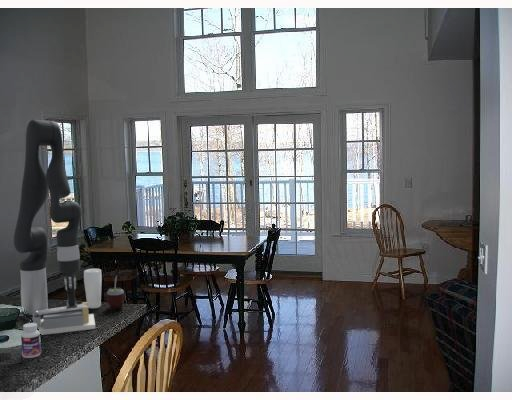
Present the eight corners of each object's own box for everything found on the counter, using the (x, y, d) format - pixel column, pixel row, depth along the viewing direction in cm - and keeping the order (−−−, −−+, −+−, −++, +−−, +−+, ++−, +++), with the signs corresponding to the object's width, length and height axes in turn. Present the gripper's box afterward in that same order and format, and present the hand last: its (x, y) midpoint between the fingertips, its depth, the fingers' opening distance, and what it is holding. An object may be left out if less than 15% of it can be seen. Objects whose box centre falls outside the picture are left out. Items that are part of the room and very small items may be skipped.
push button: (73, 308, 217) (72, 284, 216) (60, 308, 217) (59, 283, 216) (80, 303, 224) (79, 279, 223) (67, 303, 224) (66, 279, 223)
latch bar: (34, 316, 190) (33, 312, 190) (34, 313, 194) (34, 308, 194) (86, 309, 196) (86, 304, 196) (86, 306, 200) (86, 301, 200)
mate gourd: (114, 305, 221) (113, 269, 219) (130, 307, 217) (129, 271, 216) (102, 310, 214) (100, 273, 212) (118, 313, 211) (117, 275, 209)
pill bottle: (22, 359, 166) (20, 328, 165) (22, 353, 171) (20, 323, 170) (41, 356, 168) (39, 326, 167) (40, 350, 173) (39, 321, 172)
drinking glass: (87, 310, 214) (85, 273, 213) (83, 305, 220) (82, 269, 219) (104, 307, 218) (103, 271, 216) (100, 303, 224) (99, 267, 222)
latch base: (28, 336, 186) (27, 315, 185) (30, 324, 198) (29, 305, 198) (95, 328, 193) (94, 308, 193) (93, 317, 206) (92, 299, 205)
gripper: (80, 260, 189) (83, 309, 191) (79, 253, 201) (82, 299, 203) (57, 262, 187) (60, 312, 188) (57, 255, 199) (60, 302, 201)
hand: (71, 305), depth 196 cm, fingers closed
